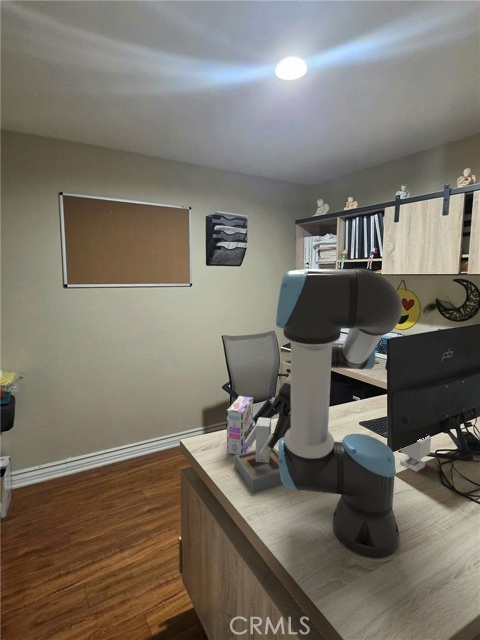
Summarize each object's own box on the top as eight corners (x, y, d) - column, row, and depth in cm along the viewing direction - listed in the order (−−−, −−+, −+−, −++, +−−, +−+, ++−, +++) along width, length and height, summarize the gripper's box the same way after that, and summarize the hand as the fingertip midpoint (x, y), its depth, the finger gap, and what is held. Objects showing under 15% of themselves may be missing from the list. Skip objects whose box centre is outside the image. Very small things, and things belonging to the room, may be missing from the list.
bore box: (294, 479, 101) (294, 468, 100) (252, 492, 95) (252, 480, 95) (272, 456, 113) (272, 445, 113) (234, 466, 108) (234, 455, 107)
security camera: (429, 465, 107) (431, 436, 105) (417, 472, 103) (419, 443, 102) (409, 456, 112) (411, 428, 111) (398, 463, 108) (400, 434, 107)
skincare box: (269, 463, 101) (269, 426, 99) (255, 461, 102) (255, 425, 100) (271, 452, 107) (271, 417, 105) (258, 451, 107) (258, 416, 105)
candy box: (242, 457, 113) (242, 412, 111) (226, 454, 115) (225, 409, 113) (254, 437, 126) (253, 396, 124) (239, 435, 128) (238, 395, 125)
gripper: (322, 404, 101) (281, 471, 95) (280, 385, 118) (243, 441, 112) (310, 392, 97) (267, 460, 91) (269, 374, 114) (230, 431, 108)
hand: (254, 449), depth 102 cm, fingers closed on skincare box, 7 cm apart
